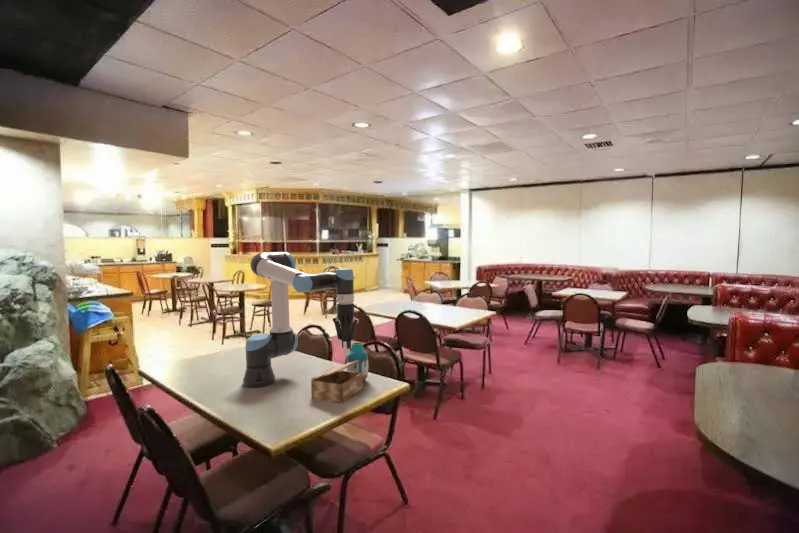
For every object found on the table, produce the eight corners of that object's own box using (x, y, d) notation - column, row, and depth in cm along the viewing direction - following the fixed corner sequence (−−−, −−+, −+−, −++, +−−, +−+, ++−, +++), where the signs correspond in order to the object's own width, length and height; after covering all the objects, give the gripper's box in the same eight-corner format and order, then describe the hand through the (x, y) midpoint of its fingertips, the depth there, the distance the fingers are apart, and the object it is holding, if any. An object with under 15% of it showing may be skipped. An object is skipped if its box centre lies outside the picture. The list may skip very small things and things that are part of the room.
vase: (365, 385, 195) (364, 346, 193) (344, 384, 197) (343, 345, 196) (371, 378, 205) (370, 341, 204) (351, 377, 207) (350, 340, 206)
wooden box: (311, 398, 180) (311, 380, 179) (334, 385, 196) (333, 368, 195) (342, 403, 173) (342, 385, 172) (363, 389, 189) (363, 373, 189)
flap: (311, 379, 180) (311, 378, 180) (332, 368, 195) (332, 367, 195) (339, 371, 173) (339, 370, 173) (359, 361, 189) (359, 359, 189)
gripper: (328, 303, 179) (329, 355, 181) (353, 305, 174) (354, 358, 175) (337, 301, 186) (339, 351, 187) (362, 302, 181) (363, 354, 182)
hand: (346, 355), depth 181 cm, fingers closed
